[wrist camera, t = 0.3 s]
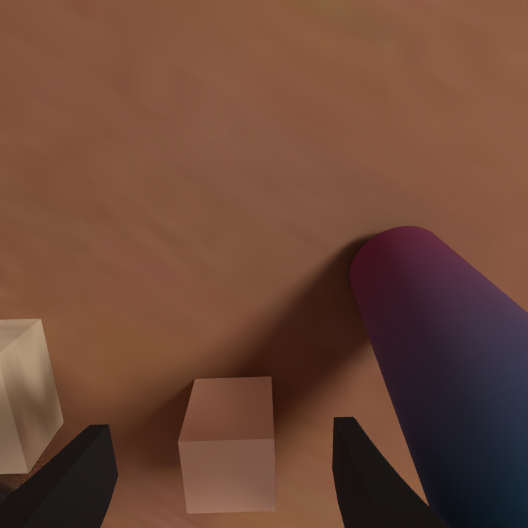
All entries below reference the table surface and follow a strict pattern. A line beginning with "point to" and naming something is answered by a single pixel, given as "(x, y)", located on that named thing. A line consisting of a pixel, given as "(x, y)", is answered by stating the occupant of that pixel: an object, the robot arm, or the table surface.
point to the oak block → (25, 396)
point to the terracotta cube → (229, 446)
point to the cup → (450, 374)
